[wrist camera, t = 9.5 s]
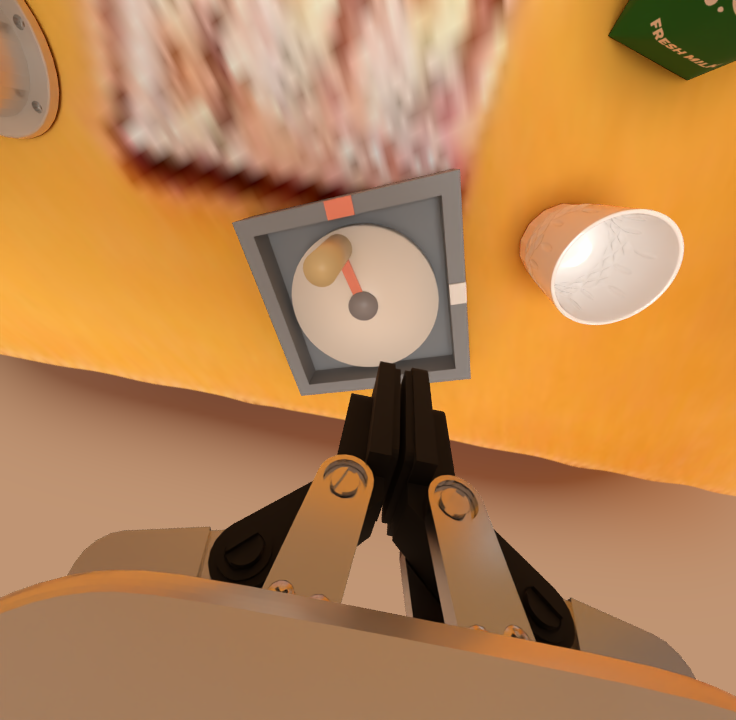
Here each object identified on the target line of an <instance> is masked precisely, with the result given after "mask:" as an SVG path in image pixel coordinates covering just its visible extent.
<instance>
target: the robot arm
mask: <svg viewBox="0 0 736 720" xmlns="http://www.w3.org/2000/svg"><path fill="white" fill-rule="evenodd" d="M58 102H59V88H58V79H57V73H56V69H55V65H54V61H53V58H52V55H51V52H50V50H49V47H48V44H47V42H46V39H45V37H44V35H43V33H42V31H41V29H40V27H39V25H38V23H37V21H36V19H35V17H34V16H33V14H32V12H31V11H30V9H29V8H28V6H27V5H26V3H25V1H24V0H0V135H1V136H4V137H10V138H20V139H22V138H34V137H37V136H39V135H42V134H43V133H44V132H45V131H47V130H48V129H49V128H50V126H51V125H52V123H53V121H54V120H55V117H56V113H57V110H58ZM381 508H382V523H387V524H388V526H387V535H389V536H393V539H392V541H393V542H394V543H395V545H396V546H397V547H398V549H399V550H400V568H401V577H402V585H403V594H404V601H405V610H406V616H402V615H397V614H392V613H386V612H381V611H376V610H371V609H366V608H361V607H356V606H350V605H345V604H341V602H342V598H343V594H344V590H345V587H346V584H347V580H348V576H349V572H350V569H351V565H352V562H353V558H354V555H355V551H356V547H357V546H358V545H359V544H361V543H362V542H363V541H365V540H366V539H367V538H369V537H370V535H371V533H372V529H373V527H374V524H375V521H377V519H378V517H379V514H380V511H381ZM0 720H736V696H734V695H732V694H730V693H728V692H725V691H723V690H721V689H719V688H717V687H714V686H712V685H709V684H706V683H704V682H701V681H699V680H696V678H695V677H694V675H693V673H692V671H691V669H690V668H689V666H688V665H687V664H686V662H685V661H684V660H683V659H682V657H681V656H680V655H679V654H678V653H677V652H676V651H675V650H674V649H673V648H672V647H671V646H670V645H669V644H668V643H667V642H665V641H663V640H662V639H660V638H658V637H657V636H655V635H654V634H652V633H649V632H647V631H644V630H642V629H640V628H638V627H636V626H633V625H631V624H629V623H627V622H624V621H622V620H620V619H617V618H616V617H613V616H611V615H609V614H607V613H604V612H602V611H600V610H598V609H595V608H593V607H591V606H589V605H586V604H584V603H582V602H580V601H577V600H575V599H573V598H570V599H568V600H565V599H563V598H562V597H561V596H560V595H559V593H558V592H557V591H556V590H555V589H554V588H553V587H552V586H551V585H550V584H549V583H548V582H547V581H546V580H545V579H544V578H543V577H542V576H541V575H540V574H539V573H538V572H537V571H536V570H535V569H534V568H533V567H532V566H531V565H530V564H529V563H528V562H527V561H526V560H525V559H524V558H523V557H522V556H521V555H520V554H519V553H518V552H517V551H515V549H513V548H512V547H511V546H510V545H509V544H508V543H507V542H506V541H505V540H504V539H503V538H502V537H501V536H500V535H499V534H498V533H497V532H496V531H495V530H494V529H493V526H492V524H491V521H490V518H489V516H488V513H487V511H486V508H485V505H484V503H483V501H482V498H481V497H480V495H479V493H478V492H477V491H476V489H475V488H474V487H473V486H472V485H470V484H469V483H468V482H466V481H465V480H463V479H461V478H458V477H456V476H455V473H454V466H453V461H452V454H451V448H450V441H449V435H448V429H447V422H446V416H445V413H444V412H442V411H437V410H432V401H431V392H430V383H429V373H428V371H427V370H423V369H418V368H413V367H412V368H411V371H407V370H405V372H404V375H403V379H402V382H401V369H397V368H396V364H393V363H388V362H383V361H380V364H379V368H378V372H377V376H376V381H375V385H374V389H373V393H372V397H368V396H363V395H358V394H353V393H352V394H351V398H350V402H349V407H348V411H347V415H346V420H345V424H344V428H343V433H342V437H341V441H340V445H339V450H338V454H337V455H336V456H333V457H330V458H329V459H327V460H326V461H325V462H324V463H323V464H322V465H321V466H320V468H319V469H318V472H317V474H316V476H315V478H314V480H313V481H312V482H310V483H308V484H307V485H305V486H303V487H301V488H299V489H297V490H295V491H293V492H292V493H290V494H288V495H286V496H284V497H282V498H281V499H279V500H277V501H275V502H273V503H271V504H269V505H268V506H266V507H264V508H262V509H260V510H258V511H257V512H255V513H253V514H251V515H250V516H247V517H245V518H244V519H242V520H240V521H238V522H236V523H234V524H233V525H231V526H230V527H228V528H227V529H226V530H211V528H210V527H191V528H169V529H147V530H126V531H120V532H115V533H110V534H108V535H106V536H104V537H102V538H100V539H98V540H96V541H95V542H94V543H93V544H91V545H90V546H89V547H88V548H86V549H85V550H84V551H83V552H82V554H81V555H80V556H79V557H78V559H77V560H76V561H75V563H74V564H73V566H72V568H71V570H70V571H69V573H68V575H67V576H64V577H60V578H57V579H53V580H49V581H45V582H41V583H38V584H35V585H32V586H29V587H26V588H23V589H20V590H17V591H14V592H12V593H10V594H8V595H5V596H3V597H0Z"/></svg>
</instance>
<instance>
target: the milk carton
mask: <svg viewBox="0 0 736 720" xmlns="http://www.w3.org/2000/svg"><path fill="white" fill-rule="evenodd" d="M609 37H611V38H613V39H615V40H617V41H618V42H620V43H622V44H624V45H625V46H627V47H629V48H631V49H633V50H634V51H636V52H638V53H640V54H641V55H643V56H645V57H647V58H649V59H650V60H652V61H654V62H656V63H657V64H659V65H661V66H663V67H665V68H666V69H668V70H670V71H672V72H673V73H675V74H677V75H679V76H681V77H682V78H684V79H686V80H689V79H692V78H694V77H697V76H699V75H702V74H704V73H707V72H709V71H711V70H714V69H716V68H719V67H721V66H724V65H726V64H729V63H731V62H733V61H736V0H629V2H628V3H627V5H626V7H625V8H624V10H623V12H622V13H621V15H620V17H619V19H618V20H617V22H616V24H615V25H614V27H613V29H612V30H611V32H610V34H609Z"/></svg>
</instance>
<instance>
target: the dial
mask: <svg viewBox="0 0 736 720" xmlns="http://www.w3.org/2000/svg"><path fill="white" fill-rule="evenodd" d="M292 303H293V308H294V312H295V315H296V318H297V321H298V323H299V325H300V327H301V329H302V330H303V332H304V333H305V335H306V336H307V337H308V338H309V340H310V341H311V342H312V343H313V344H314V345H315V346H316V347H317V348H318V349H320V350H321V351H322V352H324V353H325V354H327V355H328V356H330V357H332V358H334V359H336V360H338V361H340V362H343V363H346V364H350V365H354V366H361V367H377V366H379V364H380V361H383V362H388V363H394V362H397V361H399V360H401V359H403V358H405V357H407V356H408V355H410V354H411V353H413V352H414V351H415V350H416V349H417V348H419V347H420V346H421V344H422V343H423V342H424V341H425V340H426V338H427V337H428V335H429V334H430V332H431V330H432V328H433V326H434V323H435V320H436V317H437V312H438V303H439V297H438V288H437V283H436V279H435V275H434V272H433V269H432V267H431V264H430V263H429V261H428V259H427V257H426V256H425V254H424V253H423V252H422V250H421V249H420V248H419V247H418V246H417V245H416V244H415V243H414V242H413V241H412V240H411V239H409V238H408V237H407V236H405V235H404V234H402V233H400V232H398V231H397V230H394V229H392V228H389V227H387V226H383V225H379V224H372V223H356V224H350V225H346V226H343V227H340V228H337V229H335V230H333V231H331V232H329V233H327V234H326V235H325V236H323V237H322V238H321V239H319V240H318V241H317V242H316V243H314V244H313V245H312V246H311V247H310V248H309V249H308V250H307V252H306V253H305V254H304V256H303V257H302V259H301V260H300V262H299V264H298V266H297V269H296V271H295V274H294V278H293V283H292Z"/></svg>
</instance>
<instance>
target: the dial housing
mask: <svg viewBox="0 0 736 720" xmlns="http://www.w3.org/2000/svg"><path fill="white" fill-rule="evenodd" d="M356 223H372V224H379V225H383V226H387V227H389V228H392V229H394V230H397V231H398V232H400V233H402V234H404V235H405V236H407V237H408V238H409V239H411V240H412V241H413V242H414V243H415V244H416V245H417V246H418V247H419V248H420V249H421V250H422V252H423V253H424V254H425V256H426V257H427V259H428V261H429V263H430V264H431V267H432V269H433V272H434V275H435V279H436V283H437V288H438V297H439V303H438V312H437V317H436V320H435V323H434V326H433V328H432V330H431V332H430V334H429V335H428V337H427V338H426V340H425V341H424V342H423V343H422V344H421V346H420V347H419V348H417V349H416V350H415V351H414V352H413V353H411V354H410V355H408V356H407V357H405V358H403V359H401V360H399V361H397V362H394V363H393V364H396V368H397V369H401V382H402V379H403V375H404V372H405V370H407V371H411V368H412V367H413V368H418V369H423V370H427V371H428V373H429V383H433V382H443V381H453V380H462V379H471V376H470V356H469V337H468V318H467V293H466V279H465V260H464V240H463V221H462V202H461V182H460V169H451V170H447V171H442V172H438V173H434V174H430V175H425V176H421V177H417V178H413V179H409V180H404V181H400V182H396V183H392V184H387V185H383V186H379V187H375V188H370V189H366V190H362V191H358V192H354V193H349V194H345V195H341V196H337V197H332V198H328V199H324V200H320V201H315V202H311V203H307V204H303V205H299V206H294V207H290V208H286V209H282V210H277V211H273V212H269V213H265V214H260V215H256V216H252V217H249V218H246V219H243V220H240V221H236V222H233V223H232V224H233V226H234V229H235V231H236V234H237V236H238V239H239V241H240V244H241V246H242V249H243V251H244V254H245V256H246V259H247V261H248V264H249V266H250V269H251V271H252V274H253V276H254V279H255V281H256V284H257V286H258V289H259V291H260V294H261V296H262V299H263V301H264V304H265V306H266V309H267V311H268V314H269V316H270V319H271V321H272V324H273V326H274V329H275V331H276V334H277V336H278V339H279V341H280V344H281V346H282V349H283V351H284V354H285V356H286V359H287V361H288V364H289V366H290V369H291V371H292V374H293V376H294V379H295V381H296V384H297V386H298V389H299V391H300V394H301V396H304V395H314V394H323V393H333V392H343V391H353V390H363V389H373V388H374V385H375V381H376V376H377V372H378V368H379V366H377V367H361V366H354V365H350V364H346V363H343V362H340V361H338V360H336V359H334V358H332V357H330V356H328V355H327V354H325V353H324V352H322V351H321V350H320V349H318V348H317V347H316V346H315V345H314V344H313V343H312V342H311V341H310V340H309V338H308V337H307V336H306V335H305V333H304V332H303V330H302V329H301V327H300V325H299V323H298V321H297V318H296V315H295V312H294V308H293V303H292V283H293V278H294V274H295V271H296V269H297V266H298V264H299V262H300V260H301V259H302V257H303V256H304V254H305V253H306V252H307V250H308V249H309V248H310V247H311V246H312V245H313V244H314V243H316V242H317V241H318V240H319V239H321V238H322V237H323V236H325V235H326V234H327V233H329V232H331V231H333V230H335V229H337V228H340V227H343V226H346V225H350V224H356Z"/></svg>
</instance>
